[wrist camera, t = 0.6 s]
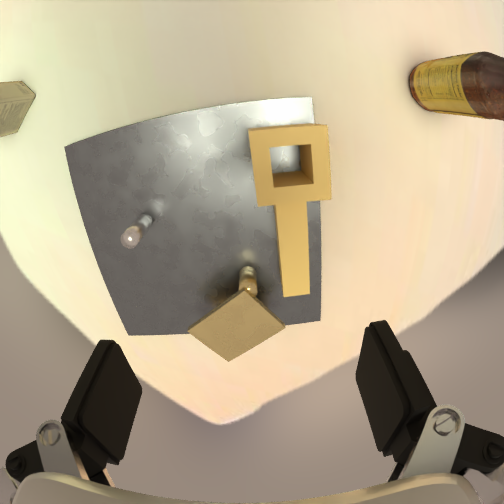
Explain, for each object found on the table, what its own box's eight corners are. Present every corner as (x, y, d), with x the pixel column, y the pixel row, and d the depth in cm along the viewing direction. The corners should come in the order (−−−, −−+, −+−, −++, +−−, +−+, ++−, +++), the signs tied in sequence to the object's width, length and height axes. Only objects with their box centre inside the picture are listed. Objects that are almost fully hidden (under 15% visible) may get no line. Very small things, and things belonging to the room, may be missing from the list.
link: (248, 128, 27) (248, 131, 21) (311, 123, 26) (327, 125, 21) (267, 284, 35) (270, 315, 29) (318, 278, 34) (330, 308, 29)
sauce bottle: (450, 78, 23) (581, 89, 5) (440, 121, 26) (575, 157, 8) (409, 52, 22) (545, 32, 4) (398, 96, 25) (543, 107, 7)
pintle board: (66, 146, 27) (38, 155, 22) (310, 97, 25) (325, 93, 20) (132, 339, 40) (121, 366, 35) (319, 324, 39) (327, 354, 34)
